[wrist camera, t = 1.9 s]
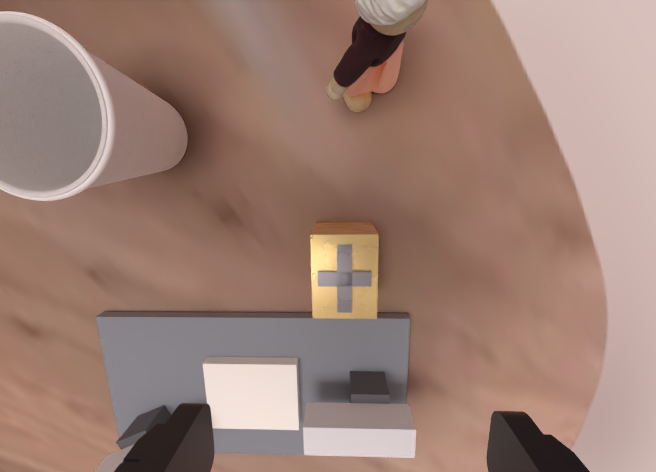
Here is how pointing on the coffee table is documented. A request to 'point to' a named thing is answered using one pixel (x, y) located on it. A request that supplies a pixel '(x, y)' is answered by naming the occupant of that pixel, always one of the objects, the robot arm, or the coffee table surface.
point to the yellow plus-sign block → (344, 270)
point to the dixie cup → (74, 116)
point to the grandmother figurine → (374, 51)
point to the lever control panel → (263, 380)
